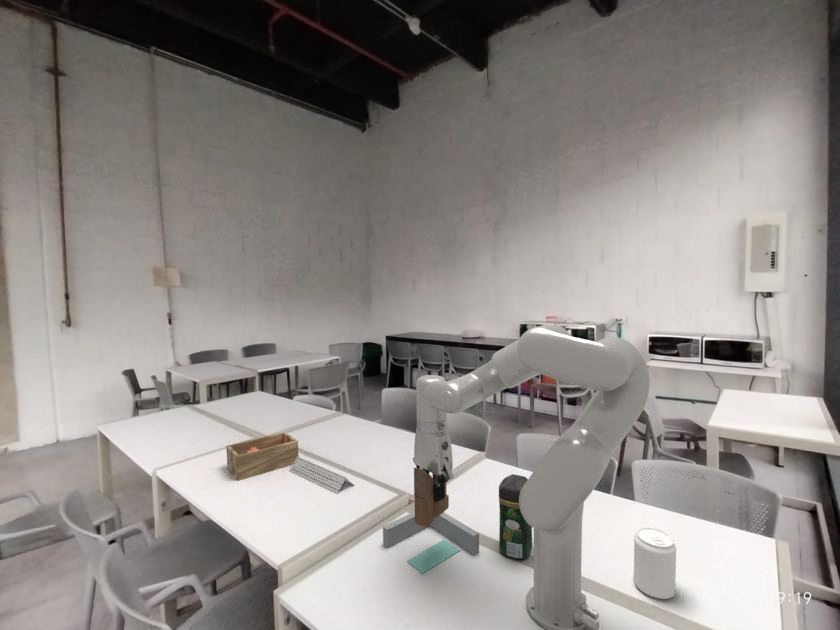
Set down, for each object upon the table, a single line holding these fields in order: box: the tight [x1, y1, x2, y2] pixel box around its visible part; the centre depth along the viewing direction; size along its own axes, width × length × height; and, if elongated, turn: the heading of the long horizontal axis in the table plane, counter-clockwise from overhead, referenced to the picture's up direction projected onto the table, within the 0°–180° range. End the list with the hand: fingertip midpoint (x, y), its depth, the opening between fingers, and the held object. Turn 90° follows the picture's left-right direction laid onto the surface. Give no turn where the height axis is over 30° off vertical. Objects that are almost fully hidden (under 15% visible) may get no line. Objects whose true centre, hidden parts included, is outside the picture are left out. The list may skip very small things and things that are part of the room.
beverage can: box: [633, 527, 677, 600], centre depth 90 cm, size 8×8×12 cm
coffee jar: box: [498, 473, 533, 560], centre depth 104 cm, size 10×8×19 cm
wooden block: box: [413, 467, 450, 528], centre depth 101 cm, size 4×11×18 cm, turn 145°
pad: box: [406, 539, 461, 575], centre depth 102 cm, size 6×13×1 cm, turn 130°
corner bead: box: [288, 455, 355, 495], centre depth 147 cm, size 29×9×5 cm, turn 51°
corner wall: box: [382, 511, 480, 556], centre depth 105 cm, size 19×17×5 cm
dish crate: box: [226, 431, 299, 482], centre depth 158 cm, size 14×23×9 cm, turn 130°
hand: (432, 495), depth 102 cm, fingers closed on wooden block, 4 cm apart
